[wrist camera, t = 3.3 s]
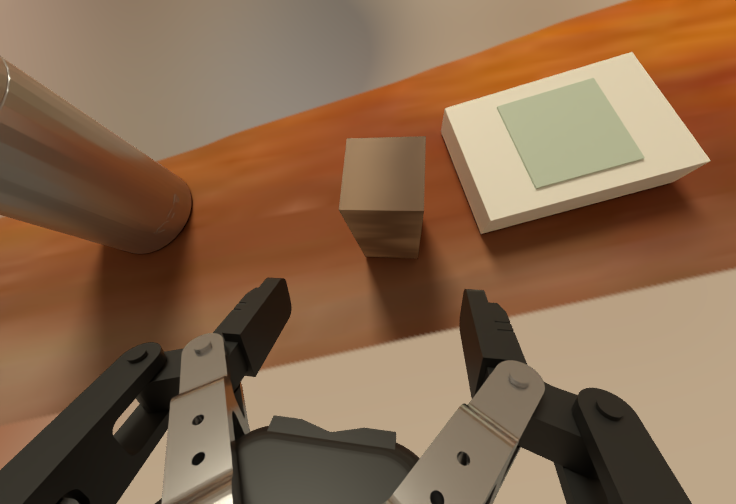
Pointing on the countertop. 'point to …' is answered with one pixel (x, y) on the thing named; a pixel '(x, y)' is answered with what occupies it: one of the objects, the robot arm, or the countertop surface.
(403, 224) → the walnut block
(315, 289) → the countertop surface
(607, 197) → the plinth
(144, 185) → the robot arm
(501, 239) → the countertop surface
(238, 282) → the countertop surface
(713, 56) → the countertop surface
